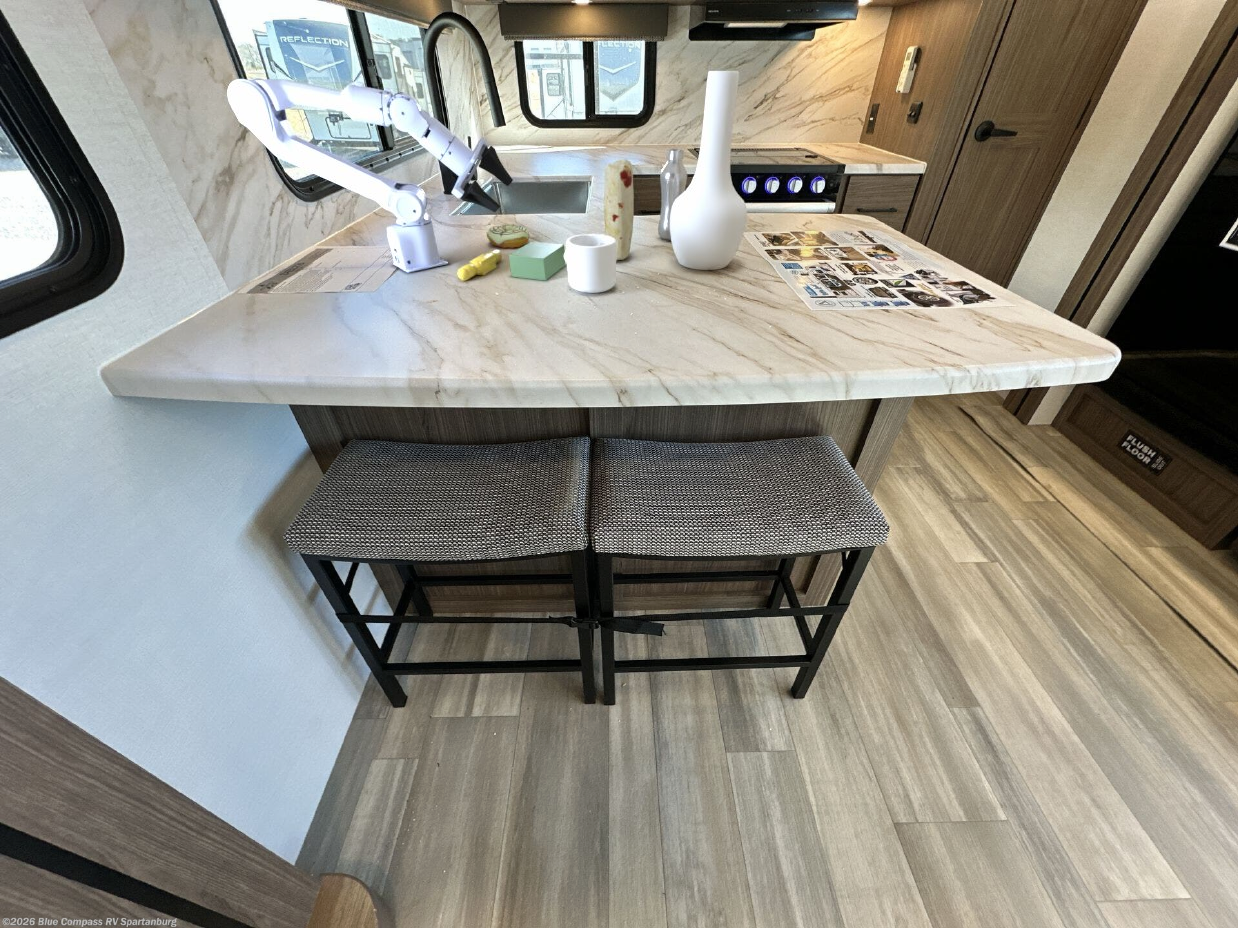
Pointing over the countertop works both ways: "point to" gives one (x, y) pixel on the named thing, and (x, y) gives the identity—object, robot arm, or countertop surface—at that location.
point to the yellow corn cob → (480, 265)
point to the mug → (591, 262)
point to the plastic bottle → (671, 188)
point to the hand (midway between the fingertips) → (504, 196)
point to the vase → (711, 187)
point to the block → (537, 260)
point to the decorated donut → (508, 235)
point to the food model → (619, 205)
